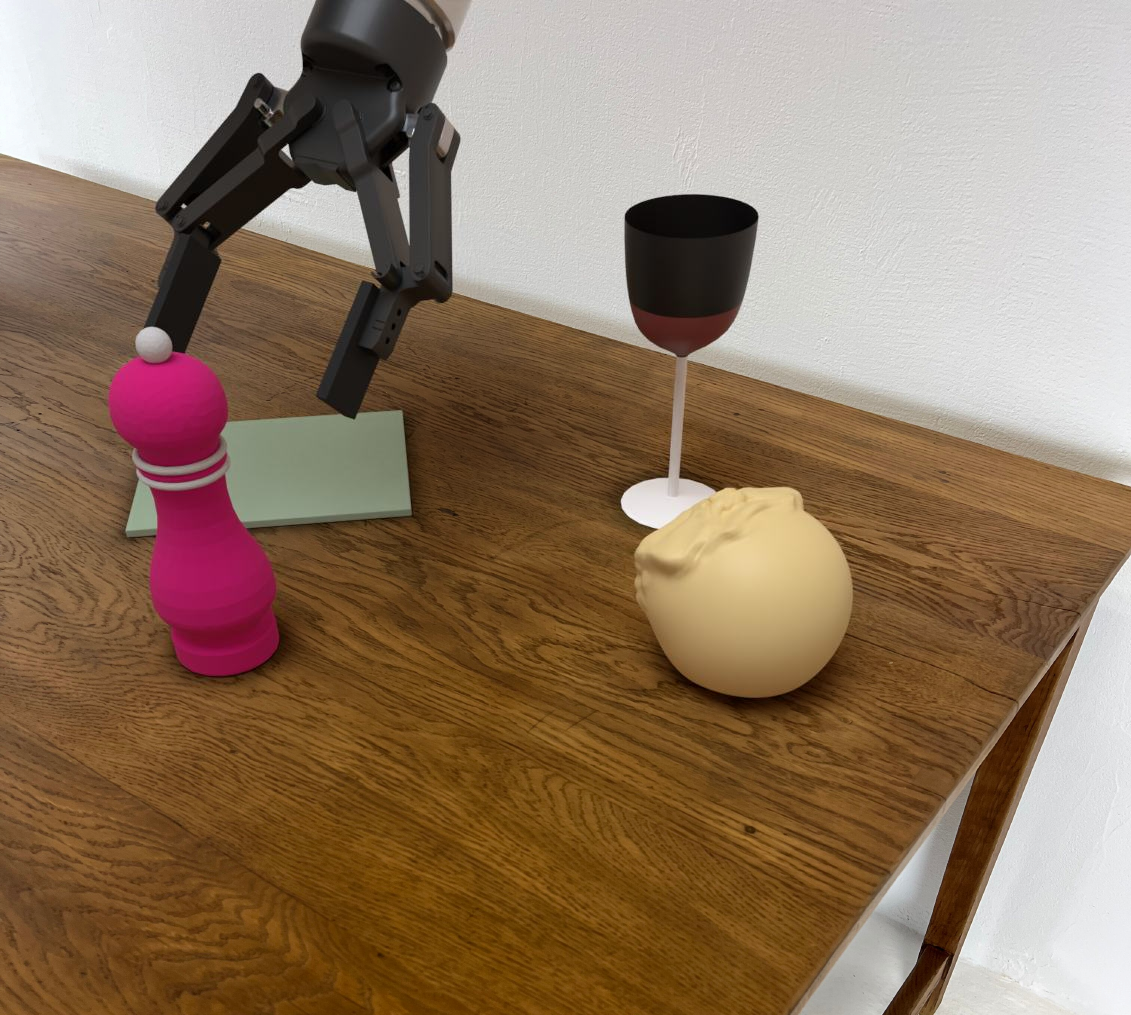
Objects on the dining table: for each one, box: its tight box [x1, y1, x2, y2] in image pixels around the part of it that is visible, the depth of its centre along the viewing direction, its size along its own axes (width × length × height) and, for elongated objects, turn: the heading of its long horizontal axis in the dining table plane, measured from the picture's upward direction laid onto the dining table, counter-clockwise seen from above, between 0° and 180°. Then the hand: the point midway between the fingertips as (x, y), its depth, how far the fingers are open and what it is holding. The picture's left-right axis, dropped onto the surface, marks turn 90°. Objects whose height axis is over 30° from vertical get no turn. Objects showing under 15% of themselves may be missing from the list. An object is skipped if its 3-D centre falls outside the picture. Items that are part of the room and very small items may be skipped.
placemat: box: [124, 409, 413, 538], centre depth 87 cm, size 20×16×1 cm
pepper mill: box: [107, 327, 280, 677], centre depth 64 cm, size 7×7×20 cm
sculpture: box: [633, 486, 854, 699], centre depth 66 cm, size 11×12×11 cm
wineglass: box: [620, 193, 760, 530], centre depth 77 cm, size 8×9×20 cm
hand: (243, 379), depth 64 cm, fingers open, 13 cm apart
